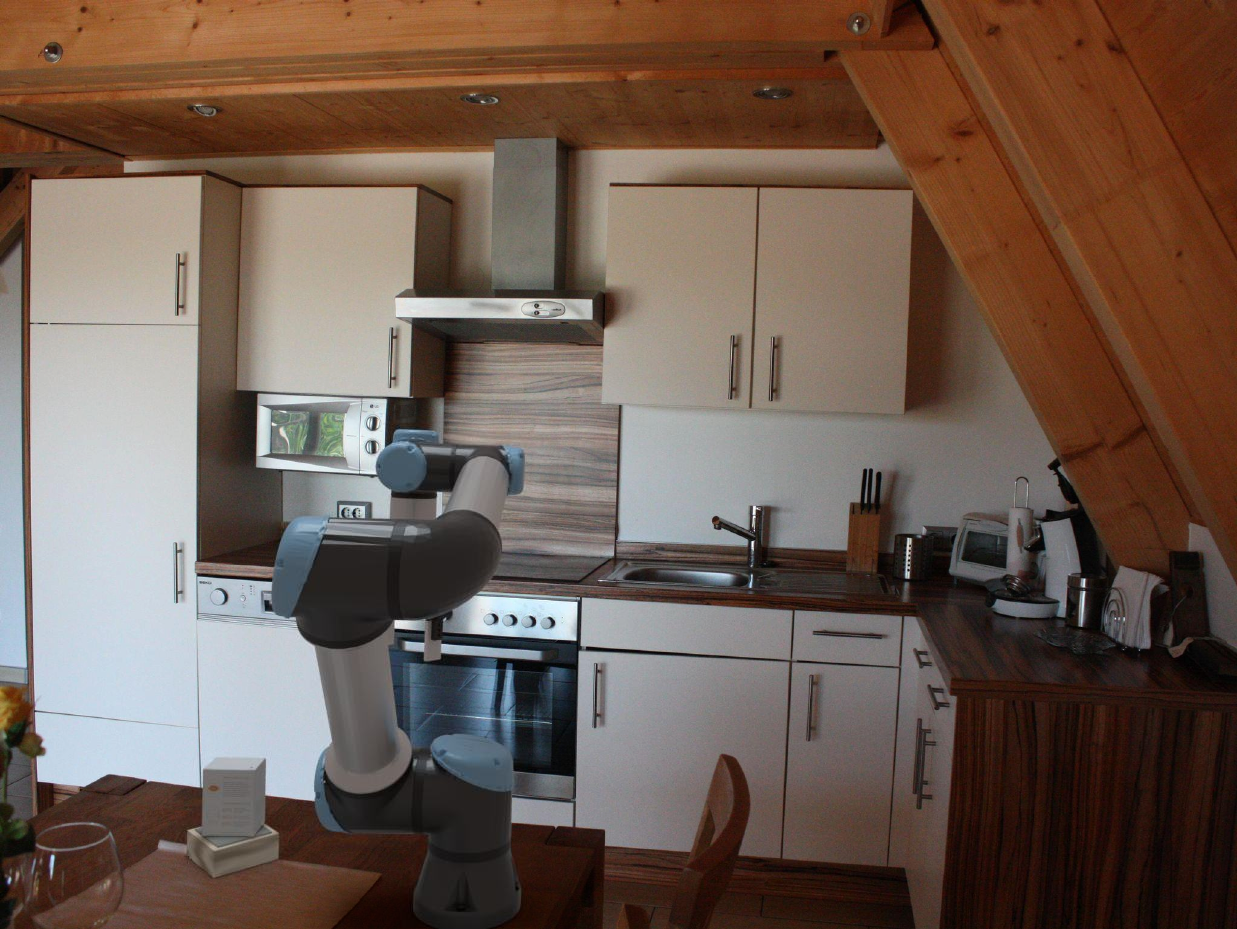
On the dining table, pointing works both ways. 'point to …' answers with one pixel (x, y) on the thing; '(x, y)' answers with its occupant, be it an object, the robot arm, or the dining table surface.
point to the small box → (233, 796)
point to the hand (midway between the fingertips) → (408, 652)
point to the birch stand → (232, 850)
